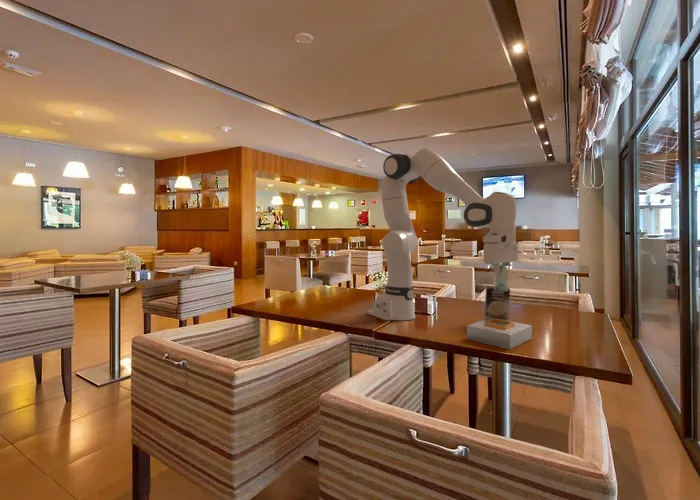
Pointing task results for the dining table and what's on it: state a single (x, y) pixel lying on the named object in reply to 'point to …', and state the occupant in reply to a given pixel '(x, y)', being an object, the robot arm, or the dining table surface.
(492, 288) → the coffee box
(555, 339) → the dining table surface
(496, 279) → the spout can
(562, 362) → the dining table surface
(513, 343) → the grey rectangular block
